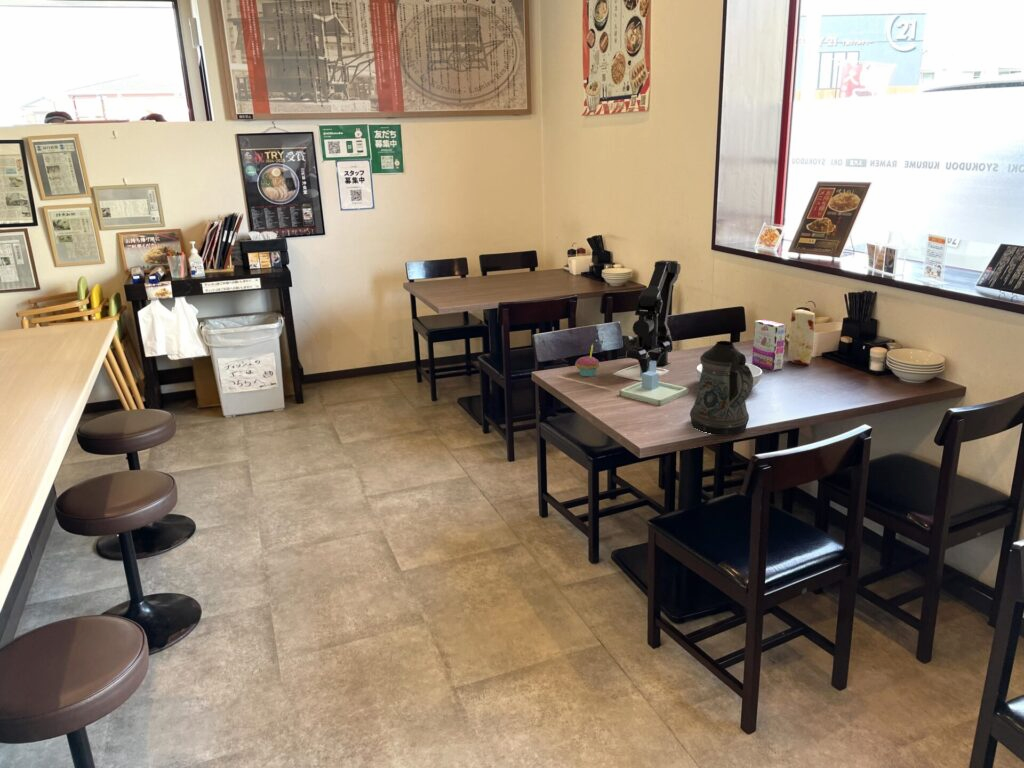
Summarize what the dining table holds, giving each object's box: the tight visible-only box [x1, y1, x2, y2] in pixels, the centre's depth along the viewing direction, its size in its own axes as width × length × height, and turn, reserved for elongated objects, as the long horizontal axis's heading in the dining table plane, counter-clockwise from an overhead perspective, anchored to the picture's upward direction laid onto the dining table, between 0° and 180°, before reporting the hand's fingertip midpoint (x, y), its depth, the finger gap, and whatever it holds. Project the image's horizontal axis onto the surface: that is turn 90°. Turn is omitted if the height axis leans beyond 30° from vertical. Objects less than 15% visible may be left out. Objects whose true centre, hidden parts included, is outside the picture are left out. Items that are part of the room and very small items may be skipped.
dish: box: [612, 363, 670, 382], centre depth 267 cm, size 15×13×1 cm
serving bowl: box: [696, 362, 763, 388], centre depth 249 cm, size 21×21×7 cm
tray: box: [618, 380, 689, 407], centre depth 246 cm, size 16×16×2 cm
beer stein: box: [689, 340, 754, 436], centre depth 213 cm, size 16×19×25 cm
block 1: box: [640, 360, 657, 375], centre depth 264 cm, size 4×4×5 cm
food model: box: [787, 308, 816, 366], centre depth 271 cm, size 10×7×20 cm
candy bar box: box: [751, 319, 787, 372], centre depth 269 cm, size 11×5×16 cm, turn 25°
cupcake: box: [574, 344, 600, 377], centre depth 266 cm, size 9×8×12 cm
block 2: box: [642, 371, 660, 390], centre depth 249 cm, size 4×4×5 cm
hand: (648, 372), depth 264 cm, fingers open, 4 cm apart
